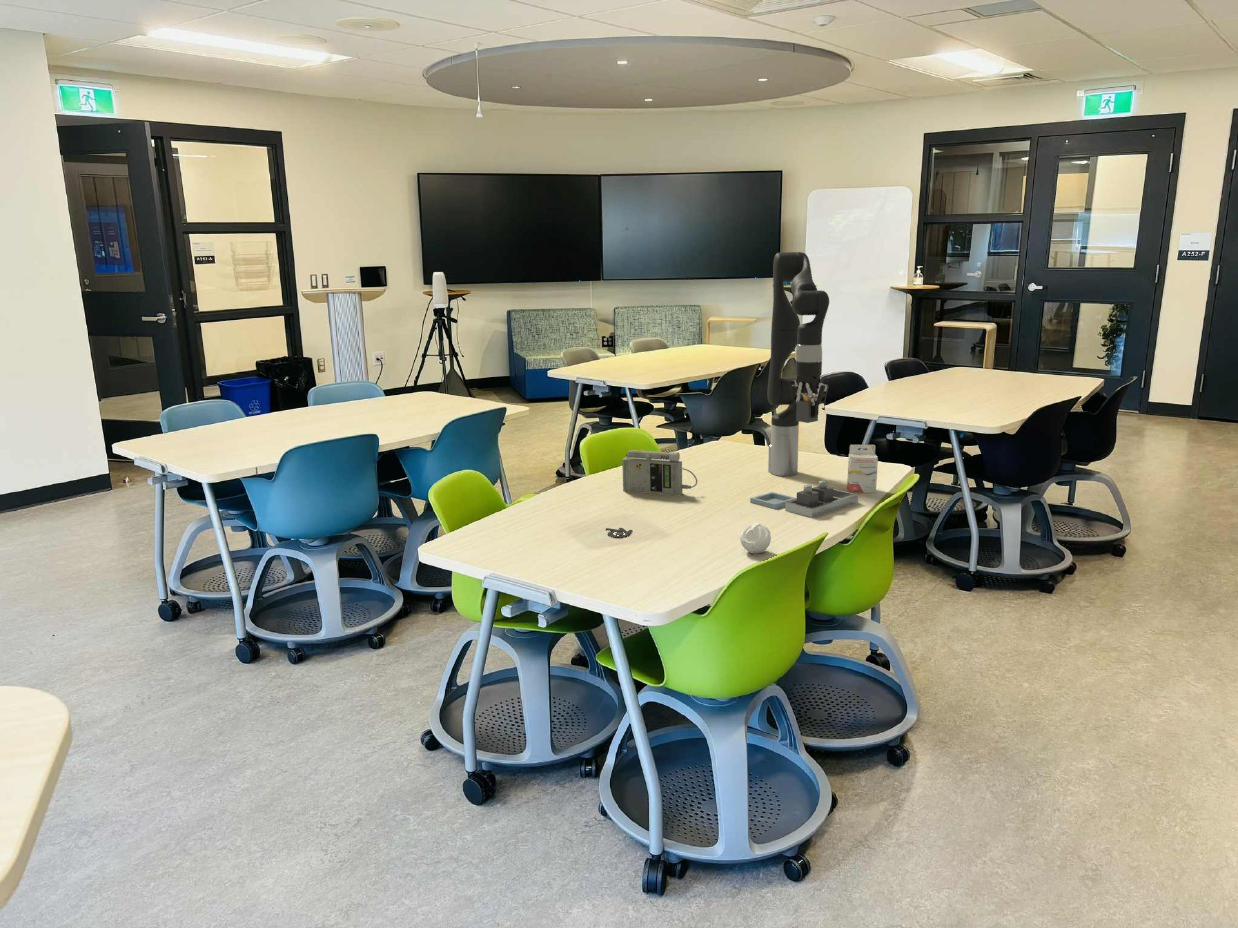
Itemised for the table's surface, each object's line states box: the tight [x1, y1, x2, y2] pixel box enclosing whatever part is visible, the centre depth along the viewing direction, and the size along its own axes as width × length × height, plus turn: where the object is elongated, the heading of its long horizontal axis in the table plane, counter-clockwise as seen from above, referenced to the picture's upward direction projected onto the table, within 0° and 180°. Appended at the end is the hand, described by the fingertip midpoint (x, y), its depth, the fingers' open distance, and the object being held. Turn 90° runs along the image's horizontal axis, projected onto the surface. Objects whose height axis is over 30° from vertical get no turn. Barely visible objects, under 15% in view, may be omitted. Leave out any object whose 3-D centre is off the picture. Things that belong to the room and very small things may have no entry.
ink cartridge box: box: [846, 444, 879, 494], centre depth 288 cm, size 9×5×15 cm, turn 84°
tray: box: [749, 491, 797, 510], centre depth 278 cm, size 10×10×2 cm
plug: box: [796, 394, 819, 424], centre depth 270 cm, size 4×4×8 cm
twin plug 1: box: [796, 484, 819, 508], centre depth 267 cm, size 4×4×8 cm
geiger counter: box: [621, 449, 698, 497], centre depth 292 cm, size 14×6×25 cm
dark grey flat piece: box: [605, 527, 633, 539], centre depth 254 cm, size 9×8×1 cm
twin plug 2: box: [812, 480, 834, 503], centre depth 271 cm, size 4×4×8 cm
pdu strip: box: [784, 488, 859, 519], centre depth 272 cm, size 10×22×3 cm, turn 130°
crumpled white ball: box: [739, 522, 772, 554], centre depth 235 cm, size 8×8×8 cm
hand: (807, 416), depth 271 cm, fingers closed on plug, 4 cm apart
